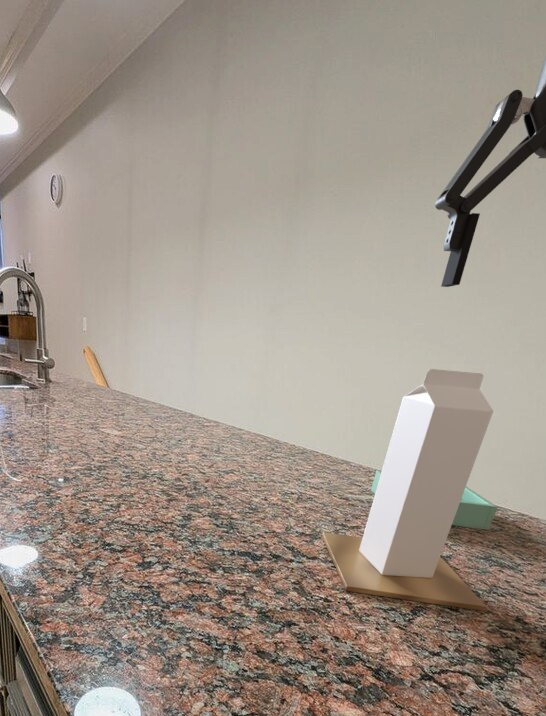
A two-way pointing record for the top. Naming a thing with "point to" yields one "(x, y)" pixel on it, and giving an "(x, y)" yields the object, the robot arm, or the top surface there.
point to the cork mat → (397, 578)
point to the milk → (425, 473)
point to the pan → (465, 508)
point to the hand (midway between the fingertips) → (515, 290)
